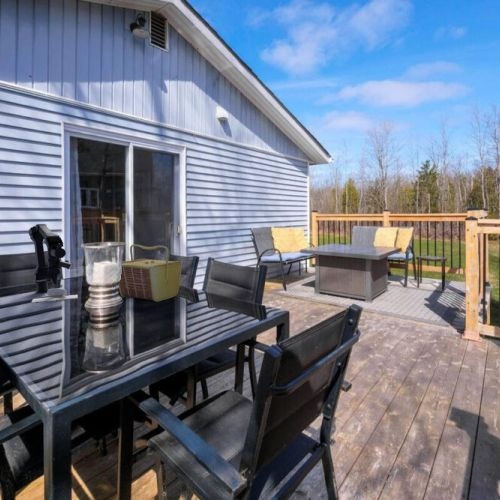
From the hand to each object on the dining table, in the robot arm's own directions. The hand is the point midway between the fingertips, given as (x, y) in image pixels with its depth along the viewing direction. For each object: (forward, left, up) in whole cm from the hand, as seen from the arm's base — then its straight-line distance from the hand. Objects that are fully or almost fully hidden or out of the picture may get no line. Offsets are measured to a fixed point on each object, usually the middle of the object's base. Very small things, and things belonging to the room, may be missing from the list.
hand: (55, 284), depth 193 cm
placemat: (+5, 0, -8) cm, 9 cm away
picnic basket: (+24, +48, -8) cm, 54 cm away
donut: (-1, 0, -6) cm, 6 cm away
